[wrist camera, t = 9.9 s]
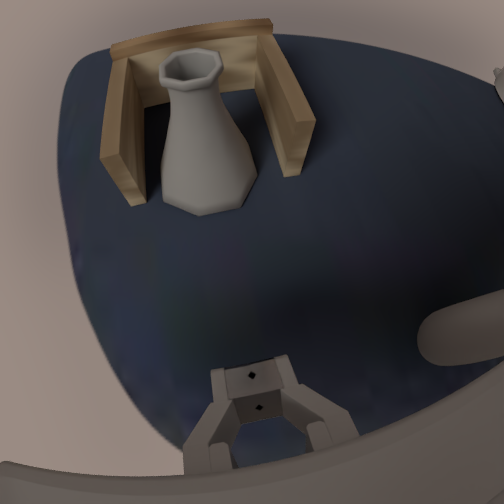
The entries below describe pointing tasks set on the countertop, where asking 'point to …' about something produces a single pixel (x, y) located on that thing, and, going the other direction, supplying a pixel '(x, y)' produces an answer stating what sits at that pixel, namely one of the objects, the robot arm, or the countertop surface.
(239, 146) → the flask
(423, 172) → the countertop surface
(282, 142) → the wooden arch bench
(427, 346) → the donut
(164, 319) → the countertop surface
